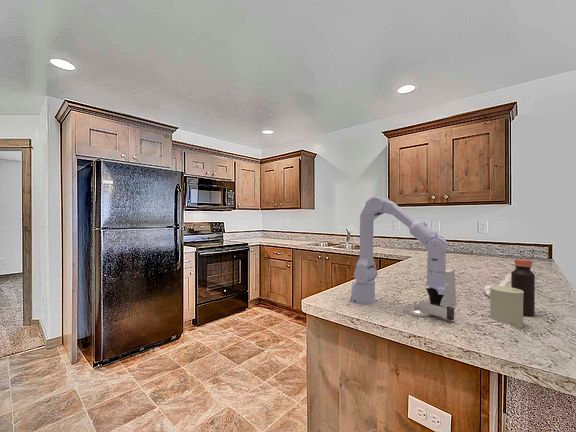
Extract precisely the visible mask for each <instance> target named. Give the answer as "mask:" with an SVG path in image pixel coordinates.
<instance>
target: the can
mask: <svg viewBox="0 0 576 432" xmlns="http://www.w3.org/2000/svg"><path fill="white" fill-rule="evenodd" d="M523 294H524V291H522V290H520V289H516V288H511V287H510V286H507V287H504V286H498V285H494V286H492V287H490V297H489V298H490V301H489V303H490V307H489V308H490V311H489V313H490V314H489V316H490V318H491V319H492V320H494V321H496V322H498V323H499V322H500V323H503V324H509V325H511V326H512V327H514V328H515V329H522V328H524V326H525V325H524V316H523Z"/></svg>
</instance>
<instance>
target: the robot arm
mask: <svg viewBox="0 0 576 432" xmlns="http://www.w3.org/2000/svg"><path fill="white" fill-rule="evenodd" d="M384 214H388V215H392V216H393V217H395V218H396V219H397V220H398V221H400V222H401V223H402V224H403V225H405V226H406V227H407V228H408V230H409V231H408V232H409V234H410V235H411V236H413V238H415V239H416V240H418V242H420V243H421V244H422V245H423V246H425V249H426V250H427V258H426V262H427V263H426V268H427V269H426V283H425V285H426V286H427V287H426V288H425V290H426V292H427V295H428V298H430V301H429V303H433V304H437V305H441V304H440V303H441V300H442V298H443V296H444V295H445V287H449V284H445V272H446V269H447V268H446V267H447V266H446V265H447V258H446V250H447V248H448V241H447V240H446V238H445V237H444V236H443V235H439V232H437V231H436V232H435V231H434V230H433V229H432V228H431V227H429V226H428V223H427V222H425V221H424V222H423V221H421V220H419V221H416V220H414V219H413V217H411V216H410V215H409V214H408V213H406V211H405V210H403V209H402V208H401V207H400V206H398V204H396V203H395V202H394V201H392V200H390V198H387V197H385V196H383V197H382V196H378V195H373V196H371V197H369V199H367V200H366V201H365V204H364V207H363V209H362V211H361V213H360V214H359V215H360V216H359V259H358V261H357V262H356V263H355V265H356V267H355V270H354V272H353V278H354V279H355V281H351V295H350V301H351V303H353V304H361V305H362V304H363V305H373V304H375V303H376V302H375V301H376V280H375V279H376V278H377V277H378V270H377V268H376V267H377V266H376V261H375V260H374V221H375V220H376V219H377V218H379V217H380V216H381V215H384ZM429 287H431V288H429Z"/></svg>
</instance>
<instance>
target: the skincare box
mask: <svg viewBox="0 0 576 432" xmlns="http://www.w3.org/2000/svg"><path fill="white" fill-rule="evenodd" d="M455 271H456V270H455V269H450V268H449V269H448V268H446V272H445V284H449V287H445V295H444V296H443V298H442V300H441V303H440V305H441V306H446V307H447V306H450V307H453V306H455V305H457V294H456V291H457V290H456V272H455ZM428 288H431V287H429V286H428ZM428 298H429V297H428ZM428 301H429V302H430V298H429V300H428Z"/></svg>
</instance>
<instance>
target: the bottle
mask: <svg viewBox="0 0 576 432" xmlns="http://www.w3.org/2000/svg"><path fill="white" fill-rule="evenodd" d="M532 262H533V261H532V260H529V259H523V258H522V259H520V258H519V259H517V258H516V259H514V267H515V269H514V270H513V271H511V276H510V277H511V282H510V284H511V288H516V289H520V290H522V291H524V294H523V317H533V316H535V299H536V298H535V294H536V293H535V291H536V289H535V287H536V286H535V285H536V283H535V281H536V275H535V274H534V272H532V270H531V269H532V266H533V265H532Z"/></svg>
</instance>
